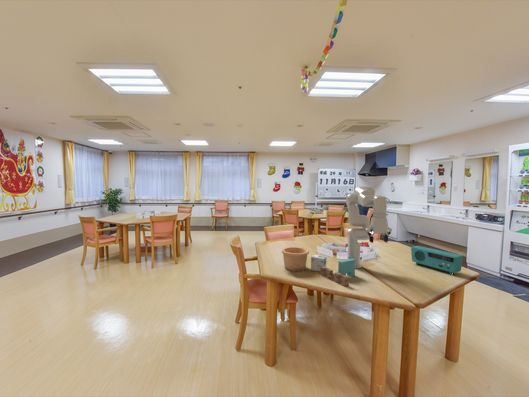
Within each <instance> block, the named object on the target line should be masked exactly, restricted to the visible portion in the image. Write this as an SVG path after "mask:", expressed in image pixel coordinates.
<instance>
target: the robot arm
mask: <svg viewBox="0 0 529 397" xmlns="http://www.w3.org/2000/svg"><path fill="white" fill-rule="evenodd" d="M375 194H376V190H375V188H374V187H372V186H357V187H356V188H355V189H354V191H353V193H349V194H347V195H346V196H345V203H346V207H347V213H348V215H347V216H348V225H349V226H350V227H351V228H349V229H348V230H346V231H347V232H346V237H347V259H355V270H358V269H361V268H362V266H363V265H362V264H361V260H360V259H361V244H360V243H359V242H358V241H368V240H369V243H371V244H373V243H374V235H375V234H376V235H378V234H383V242H385V243H388V241H389V236H390V235H391V233H392V231H393V229H392V228H390V227H389V226H388V224H389V223H388V222H389V221H388V218H387V217H388V213H387V202H388V199H387V197H386V196H382V195H378V194H377V195H375ZM358 205H361V206H362V207H364V208H365V207H367V208H369V207H372V217H371V219H369V216H367V215H366V214H365V215H364V214H360V208H359V207H358ZM352 227H353V228H352ZM359 227H360V228H359Z"/></svg>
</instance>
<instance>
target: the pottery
mask: <svg viewBox="0 0 529 397" xmlns="http://www.w3.org/2000/svg"><path fill="white" fill-rule="evenodd" d="M281 253H282V254H283V255H282V256H283V263H284V269H286V270H288V271H291V272H301V271H304V270H305V269H306V266H307V259H308V255H309V253H310V250H309V249H307V248H304V247H300V246H289V247H283V248H282V249H281Z"/></svg>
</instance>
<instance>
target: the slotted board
mask: <svg viewBox="0 0 529 397" xmlns="http://www.w3.org/2000/svg"><path fill="white" fill-rule="evenodd" d="M319 273H320V274H319V275H320V276H323V277H324V278H327V279H329V280H330V281H332V282H335V283H337V284H339V285H341V286H344V287H348V286H349V283H350V282H349V280H350V278H349V277H350V276H347V274H346V275H343V274H341V273H339V272H338V271H337V272H334V270H333V269H331V268H329V267H327V266H326V267H324V266H322V267H320V271H319Z"/></svg>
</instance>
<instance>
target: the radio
mask: <svg viewBox="0 0 529 397" xmlns="http://www.w3.org/2000/svg"><path fill="white" fill-rule="evenodd" d="M410 252H411V261H412V262H414V263H415V264H419V263H420V264H419V265H423V266H428V267H431V268H435V269H439V270H442V271H445V272H449V274H450V275H451V274H452V273H455V274H456V273H458V272H461V270H462V265H463V260H464V255H462V254H458V253H453V252H448V251H443V250H440V249H435V248H430V247H425V246H421V245H414V246H411V247H410Z"/></svg>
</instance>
